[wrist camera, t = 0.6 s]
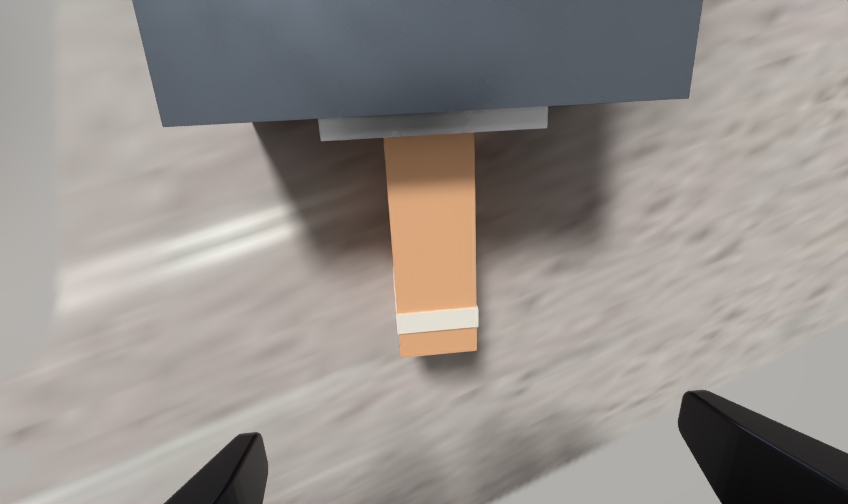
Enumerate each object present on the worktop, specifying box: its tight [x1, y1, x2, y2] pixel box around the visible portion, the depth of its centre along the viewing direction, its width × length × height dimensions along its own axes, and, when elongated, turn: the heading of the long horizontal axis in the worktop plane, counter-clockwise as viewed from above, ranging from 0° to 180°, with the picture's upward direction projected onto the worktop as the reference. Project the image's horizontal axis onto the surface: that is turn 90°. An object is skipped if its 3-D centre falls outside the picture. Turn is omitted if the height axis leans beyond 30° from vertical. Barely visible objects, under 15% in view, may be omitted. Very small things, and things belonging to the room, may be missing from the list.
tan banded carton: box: [383, 132, 478, 358], centre depth 16 cm, size 14×3×5 cm, turn 3°
